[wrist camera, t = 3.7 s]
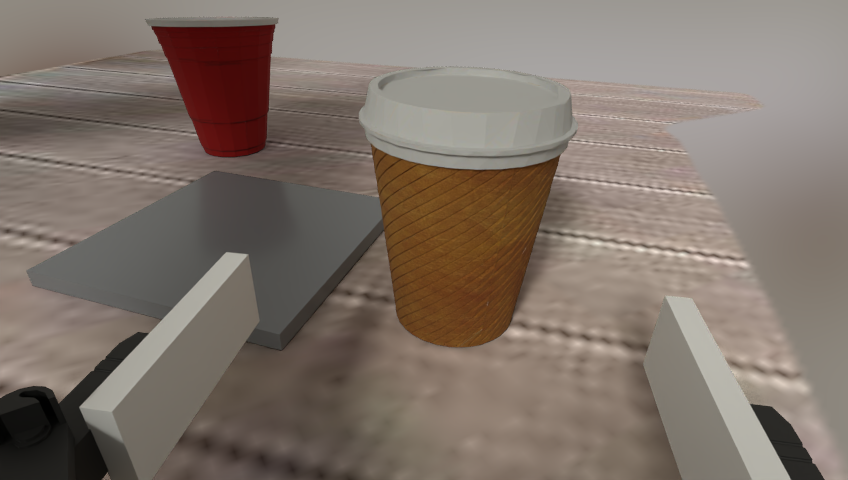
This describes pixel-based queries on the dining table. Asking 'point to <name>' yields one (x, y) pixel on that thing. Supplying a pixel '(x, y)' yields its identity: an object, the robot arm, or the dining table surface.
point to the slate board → (224, 249)
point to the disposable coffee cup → (463, 190)
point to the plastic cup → (222, 77)
